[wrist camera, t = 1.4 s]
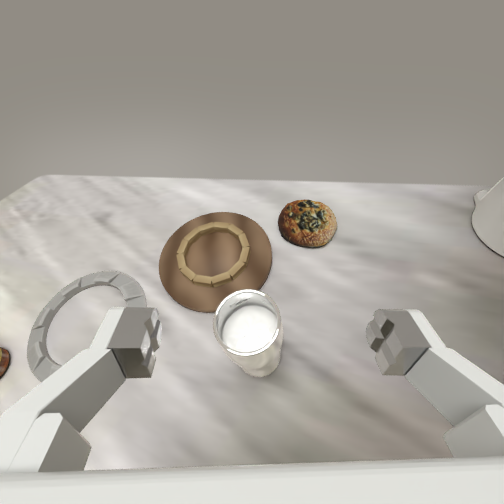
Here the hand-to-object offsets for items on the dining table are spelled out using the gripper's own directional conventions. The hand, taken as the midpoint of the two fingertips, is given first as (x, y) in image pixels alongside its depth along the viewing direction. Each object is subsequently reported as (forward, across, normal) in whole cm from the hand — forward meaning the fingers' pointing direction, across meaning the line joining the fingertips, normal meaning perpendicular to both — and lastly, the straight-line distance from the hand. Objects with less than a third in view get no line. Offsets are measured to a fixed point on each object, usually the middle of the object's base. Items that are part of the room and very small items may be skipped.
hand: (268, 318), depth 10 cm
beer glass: (+14, -3, +27) cm, 30 cm away
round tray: (+30, +4, +22) cm, 38 cm away
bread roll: (+35, -13, +18) cm, 42 cm away
